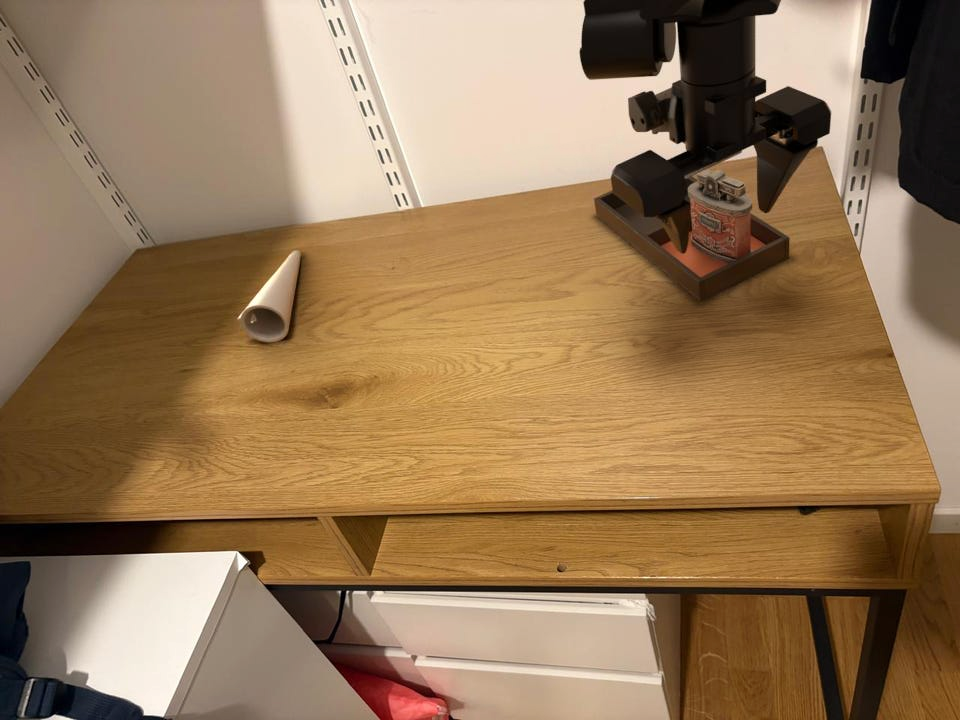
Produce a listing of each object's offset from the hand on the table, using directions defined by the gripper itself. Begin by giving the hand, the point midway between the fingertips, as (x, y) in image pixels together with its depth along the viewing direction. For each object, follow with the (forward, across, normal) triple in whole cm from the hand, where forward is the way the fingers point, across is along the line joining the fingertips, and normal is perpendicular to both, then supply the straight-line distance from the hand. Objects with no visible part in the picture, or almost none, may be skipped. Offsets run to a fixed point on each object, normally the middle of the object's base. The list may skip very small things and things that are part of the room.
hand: (723, 231), depth 70 cm
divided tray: (+12, -6, -16) cm, 21 cm away
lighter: (+12, -7, -10) cm, 17 cm away
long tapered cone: (+12, +40, -41) cm, 58 cm away
